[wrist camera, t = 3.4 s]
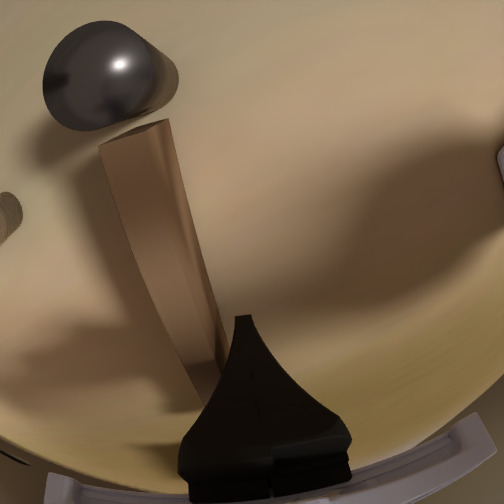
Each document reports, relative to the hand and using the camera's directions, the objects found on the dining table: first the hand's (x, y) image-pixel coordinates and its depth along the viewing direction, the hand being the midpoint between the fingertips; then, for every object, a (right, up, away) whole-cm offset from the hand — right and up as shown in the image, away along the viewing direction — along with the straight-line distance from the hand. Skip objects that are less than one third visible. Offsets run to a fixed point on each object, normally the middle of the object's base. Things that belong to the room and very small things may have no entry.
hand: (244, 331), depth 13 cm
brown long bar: (-2, +1, +1) cm, 2 cm away
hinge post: (-4, +10, -4) cm, 11 cm away
